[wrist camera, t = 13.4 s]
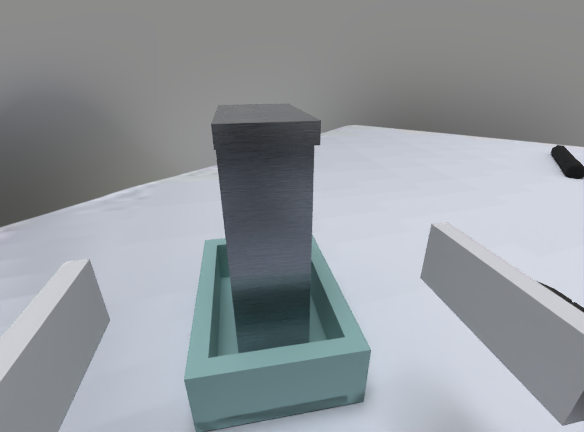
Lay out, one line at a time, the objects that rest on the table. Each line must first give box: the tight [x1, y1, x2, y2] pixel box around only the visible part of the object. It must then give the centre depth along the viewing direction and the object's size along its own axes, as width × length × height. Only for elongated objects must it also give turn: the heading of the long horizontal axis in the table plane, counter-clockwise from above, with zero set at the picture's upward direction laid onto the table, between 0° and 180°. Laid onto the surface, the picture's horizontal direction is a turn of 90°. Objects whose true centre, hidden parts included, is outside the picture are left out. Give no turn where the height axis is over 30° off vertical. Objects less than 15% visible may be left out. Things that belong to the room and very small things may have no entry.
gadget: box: [551, 145, 584, 179], centre depth 60 cm, size 2×2×20 cm
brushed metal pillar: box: [211, 104, 321, 353], centre depth 19 cm, size 4×8×14 cm, turn 10°
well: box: [184, 235, 371, 432], centre depth 21 cm, size 9×13×4 cm
